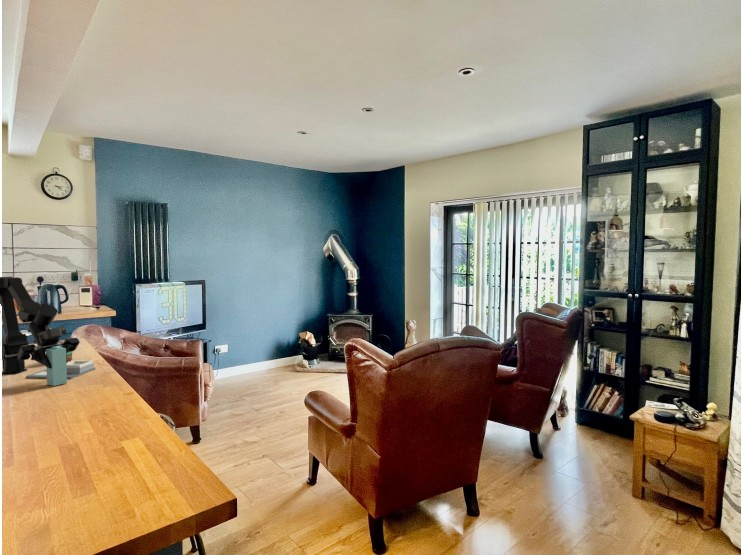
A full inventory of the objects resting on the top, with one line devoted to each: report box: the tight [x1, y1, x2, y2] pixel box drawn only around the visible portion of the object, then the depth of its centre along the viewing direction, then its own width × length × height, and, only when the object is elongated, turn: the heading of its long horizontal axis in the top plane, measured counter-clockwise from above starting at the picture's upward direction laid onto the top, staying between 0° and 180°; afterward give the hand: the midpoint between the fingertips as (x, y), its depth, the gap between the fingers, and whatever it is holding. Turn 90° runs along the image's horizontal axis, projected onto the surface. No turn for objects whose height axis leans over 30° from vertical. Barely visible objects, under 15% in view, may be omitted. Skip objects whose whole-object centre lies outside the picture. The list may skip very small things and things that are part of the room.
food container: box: [57, 336, 73, 363], centre depth 196 cm, size 12×6×10 cm, turn 179°
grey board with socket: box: [25, 359, 96, 380], centre depth 176 cm, size 18×14×4 cm
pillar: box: [45, 346, 68, 387], centre depth 162 cm, size 4×4×14 cm
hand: (58, 366), depth 161 cm, fingers closed on pillar, 4 cm apart
